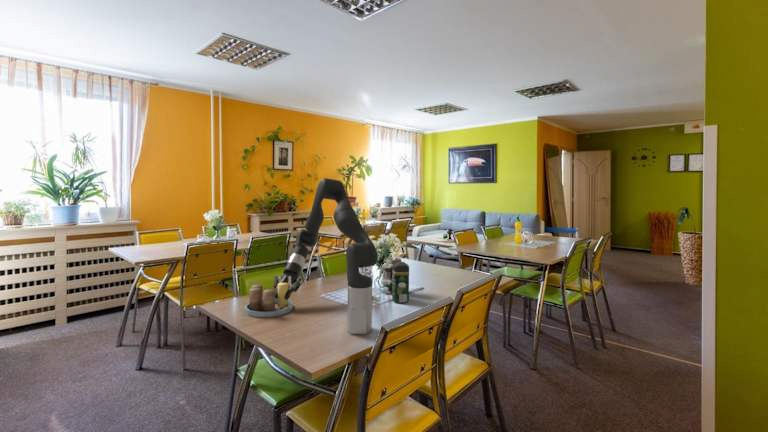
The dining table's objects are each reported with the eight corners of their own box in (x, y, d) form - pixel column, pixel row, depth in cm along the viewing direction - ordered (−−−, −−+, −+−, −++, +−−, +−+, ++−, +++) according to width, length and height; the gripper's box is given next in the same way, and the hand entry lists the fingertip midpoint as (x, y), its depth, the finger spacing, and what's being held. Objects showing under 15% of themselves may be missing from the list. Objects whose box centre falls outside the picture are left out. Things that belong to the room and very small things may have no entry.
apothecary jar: (403, 289, 197) (404, 256, 196) (404, 296, 185) (404, 260, 184) (381, 289, 198) (381, 255, 196) (380, 295, 186) (380, 260, 184)
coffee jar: (391, 297, 182) (391, 260, 181) (407, 297, 182) (407, 260, 181) (392, 303, 172) (393, 264, 171) (409, 303, 173) (410, 264, 171)
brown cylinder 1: (258, 313, 156) (258, 290, 155) (247, 313, 156) (247, 290, 155) (262, 310, 161) (262, 287, 160) (252, 310, 161) (251, 287, 160)
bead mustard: (286, 307, 162) (286, 285, 161) (276, 307, 162) (276, 285, 161) (289, 304, 166) (289, 282, 165) (279, 304, 166) (279, 282, 166)
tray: (284, 317, 152) (284, 313, 152) (236, 316, 152) (236, 311, 152) (297, 302, 172) (297, 298, 172) (255, 301, 172) (255, 297, 172)
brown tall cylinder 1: (260, 309, 161) (260, 287, 161) (250, 309, 162) (249, 287, 161) (264, 306, 166) (263, 284, 165) (254, 306, 166) (253, 284, 165)
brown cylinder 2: (272, 315, 154) (272, 292, 153) (262, 315, 154) (261, 292, 153) (276, 312, 159) (276, 289, 158) (265, 311, 159) (265, 289, 158)
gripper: (278, 260, 172) (262, 292, 161) (305, 262, 168) (291, 295, 157) (284, 269, 177) (270, 300, 167) (311, 271, 173) (298, 304, 162)
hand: (280, 298), depth 162 cm, fingers closed on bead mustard, 4 cm apart
